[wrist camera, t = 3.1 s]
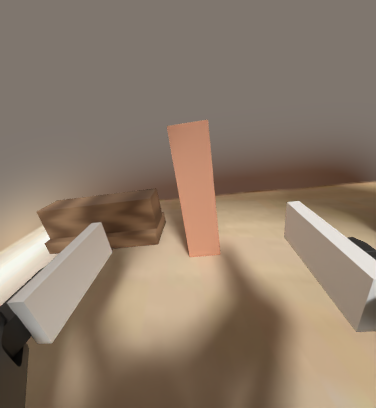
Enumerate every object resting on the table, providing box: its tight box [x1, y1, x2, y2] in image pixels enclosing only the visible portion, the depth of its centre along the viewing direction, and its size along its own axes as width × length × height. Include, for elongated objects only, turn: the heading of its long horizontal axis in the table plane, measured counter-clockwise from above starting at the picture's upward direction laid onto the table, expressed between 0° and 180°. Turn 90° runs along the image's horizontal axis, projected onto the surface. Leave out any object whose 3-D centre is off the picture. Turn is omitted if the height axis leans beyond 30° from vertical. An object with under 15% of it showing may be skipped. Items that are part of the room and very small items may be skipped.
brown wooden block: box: [37, 189, 166, 254], centre depth 31 cm, size 18×7×7 cm, turn 87°
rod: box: [167, 120, 220, 257], centre depth 23 cm, size 4×4×16 cm
